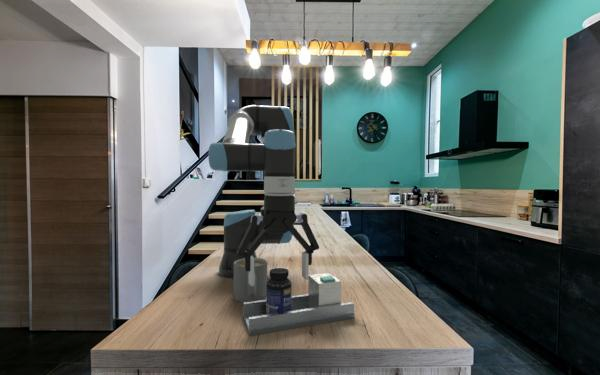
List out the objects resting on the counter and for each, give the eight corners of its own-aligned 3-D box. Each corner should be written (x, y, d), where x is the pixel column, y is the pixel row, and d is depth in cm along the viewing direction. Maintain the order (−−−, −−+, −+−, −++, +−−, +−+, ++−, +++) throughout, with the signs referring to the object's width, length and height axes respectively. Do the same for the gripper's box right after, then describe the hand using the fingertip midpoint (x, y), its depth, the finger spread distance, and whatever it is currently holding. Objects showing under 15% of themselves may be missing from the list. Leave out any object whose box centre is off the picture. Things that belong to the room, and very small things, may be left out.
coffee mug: (237, 289, 90) (237, 257, 90) (268, 289, 90) (269, 257, 90) (226, 307, 76) (226, 270, 76) (263, 307, 76) (263, 270, 76)
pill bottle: (287, 322, 65) (288, 275, 65) (262, 320, 67) (262, 273, 67) (293, 311, 71) (293, 267, 71) (270, 309, 73) (270, 266, 73)
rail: (243, 316, 71) (243, 277, 71) (336, 302, 80) (336, 268, 80) (249, 335, 61) (249, 291, 61) (354, 317, 70) (354, 279, 70)
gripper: (228, 196, 61) (228, 293, 62) (332, 194, 69) (331, 280, 70) (225, 194, 68) (225, 281, 69) (320, 193, 76) (319, 271, 77)
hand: (279, 281), depth 69 cm, fingers open, 13 cm apart
